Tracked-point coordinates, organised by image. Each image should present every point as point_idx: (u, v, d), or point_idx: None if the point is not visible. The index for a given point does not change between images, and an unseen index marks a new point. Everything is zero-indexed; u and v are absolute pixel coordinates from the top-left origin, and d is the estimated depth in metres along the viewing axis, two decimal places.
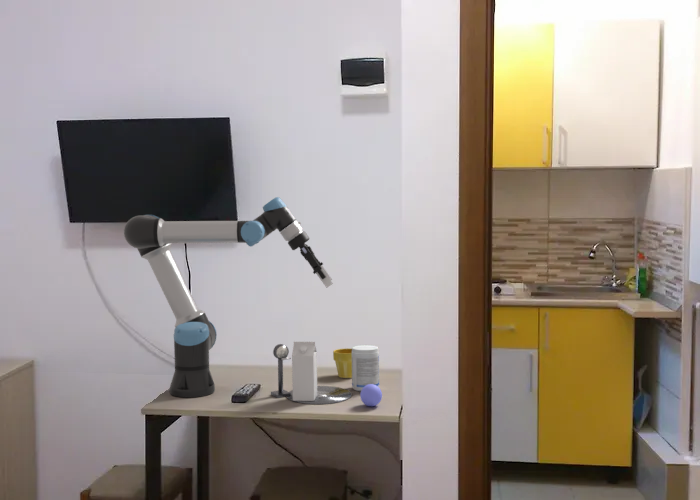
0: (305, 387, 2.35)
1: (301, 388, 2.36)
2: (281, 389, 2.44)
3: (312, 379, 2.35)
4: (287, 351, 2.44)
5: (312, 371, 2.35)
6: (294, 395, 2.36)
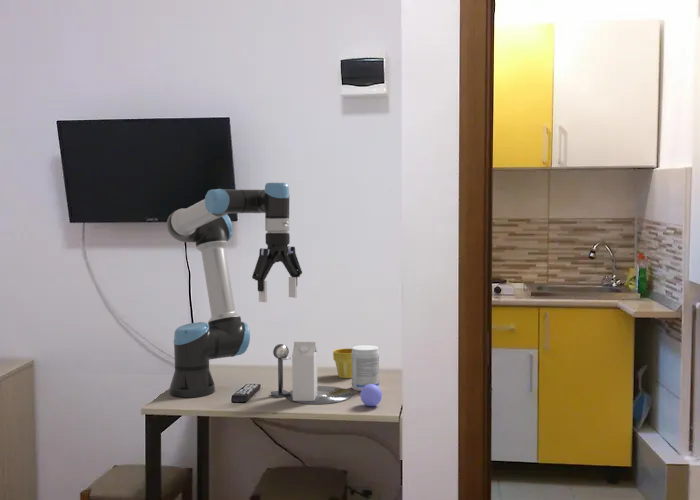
0: (305, 388, 2.35)
1: (301, 388, 2.36)
2: (281, 389, 2.44)
3: (312, 379, 2.35)
4: (287, 351, 2.44)
5: (312, 371, 2.35)
6: (294, 395, 2.36)
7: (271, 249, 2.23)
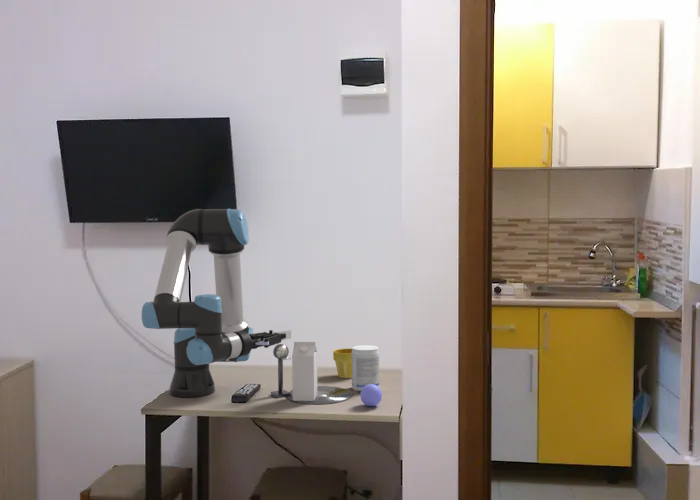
0: (305, 388, 2.35)
1: (301, 388, 2.36)
2: (281, 389, 2.44)
3: (312, 379, 2.35)
4: (287, 351, 2.44)
5: (312, 371, 2.35)
6: (294, 395, 2.36)
7: None
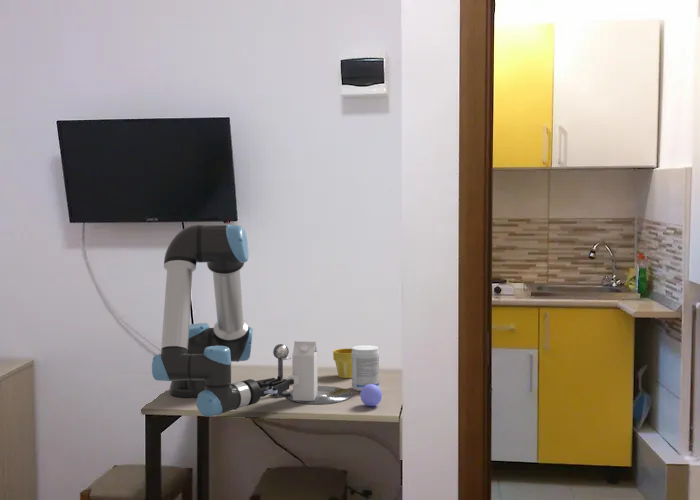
0: (306, 387, 2.36)
1: (301, 388, 2.36)
2: None
3: (312, 379, 2.35)
4: (287, 351, 2.44)
5: (312, 371, 2.35)
6: (294, 395, 2.36)
7: None
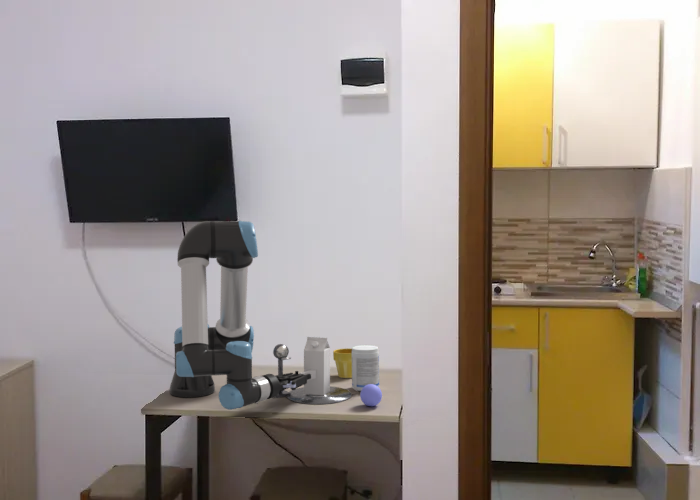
0: (316, 382, 2.42)
1: (311, 382, 2.43)
2: None
3: (322, 374, 2.42)
4: (287, 351, 2.44)
5: (322, 366, 2.41)
6: (305, 389, 2.43)
7: None
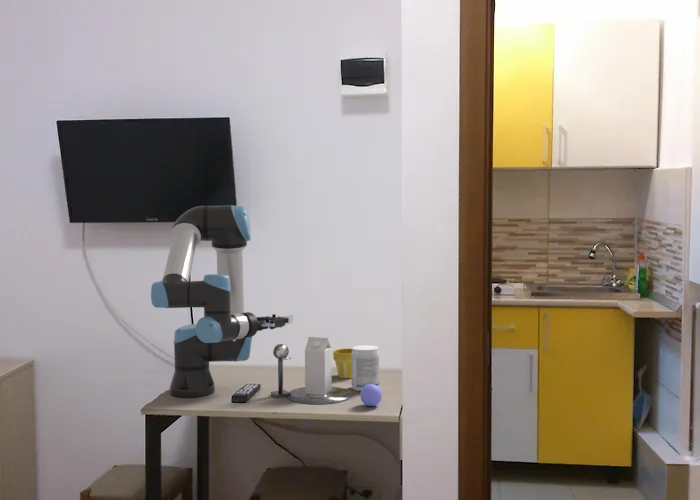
0: (317, 382, 2.43)
1: (313, 382, 2.44)
2: (281, 389, 2.44)
3: (323, 374, 2.42)
4: (287, 351, 2.44)
5: (323, 366, 2.42)
6: (306, 388, 2.44)
7: None
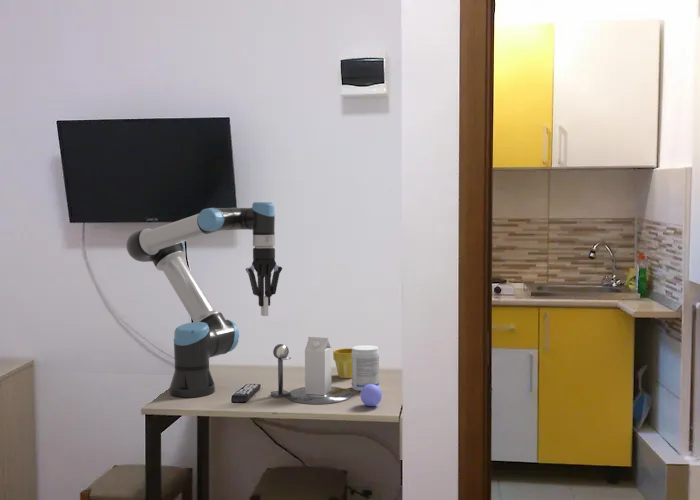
0: (317, 382, 2.43)
1: (313, 382, 2.44)
2: (281, 389, 2.44)
3: (323, 374, 2.42)
4: (287, 351, 2.44)
5: (323, 366, 2.42)
6: (306, 388, 2.44)
7: (255, 263, 2.45)
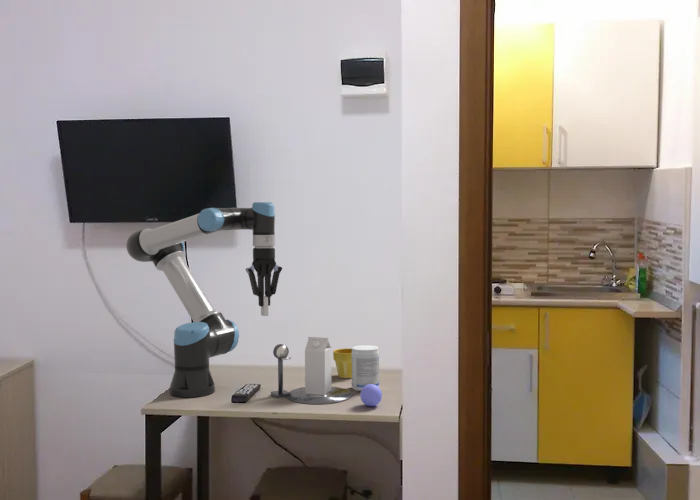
0: (317, 382, 2.43)
1: (313, 382, 2.44)
2: (281, 389, 2.44)
3: (323, 374, 2.42)
4: (287, 351, 2.44)
5: (323, 366, 2.42)
6: (306, 388, 2.44)
7: (255, 263, 2.45)
